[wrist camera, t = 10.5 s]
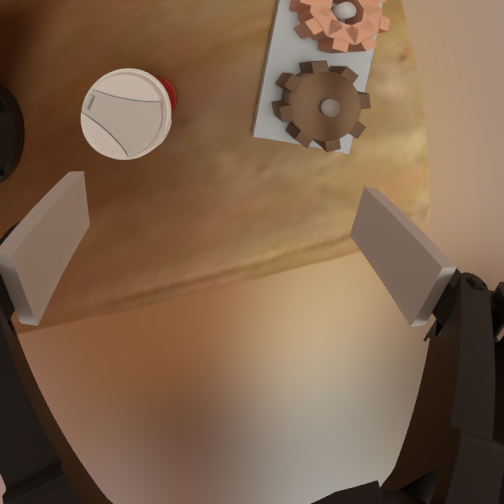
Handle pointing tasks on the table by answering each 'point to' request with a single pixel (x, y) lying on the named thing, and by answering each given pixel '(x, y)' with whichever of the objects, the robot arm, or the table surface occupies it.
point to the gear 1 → (340, 24)
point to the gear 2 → (320, 104)
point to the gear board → (287, 60)
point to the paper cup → (128, 113)
